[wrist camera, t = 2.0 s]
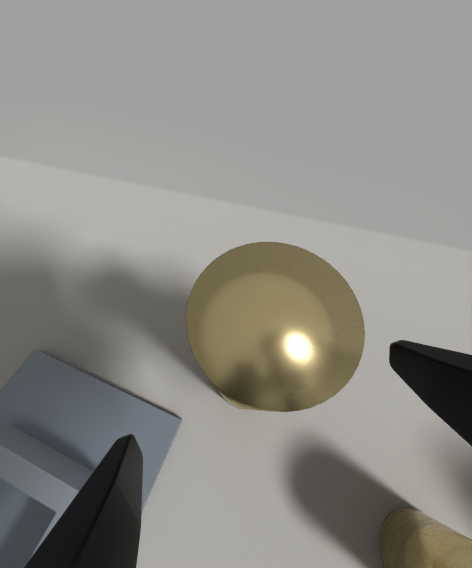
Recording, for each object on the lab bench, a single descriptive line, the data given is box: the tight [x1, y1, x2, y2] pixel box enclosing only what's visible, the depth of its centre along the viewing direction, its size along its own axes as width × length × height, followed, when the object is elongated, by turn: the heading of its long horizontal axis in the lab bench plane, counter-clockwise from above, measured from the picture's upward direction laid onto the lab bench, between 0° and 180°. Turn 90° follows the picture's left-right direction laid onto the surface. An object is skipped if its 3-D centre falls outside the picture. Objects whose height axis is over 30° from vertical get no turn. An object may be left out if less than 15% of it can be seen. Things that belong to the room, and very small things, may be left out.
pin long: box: [186, 242, 365, 412], centre depth 11 cm, size 4×4×13 cm
